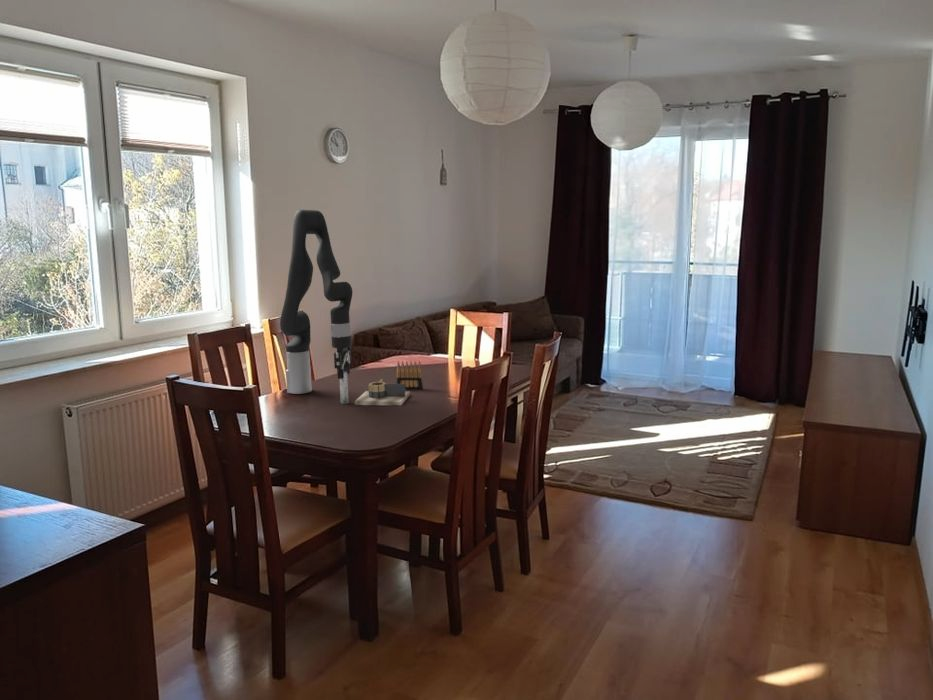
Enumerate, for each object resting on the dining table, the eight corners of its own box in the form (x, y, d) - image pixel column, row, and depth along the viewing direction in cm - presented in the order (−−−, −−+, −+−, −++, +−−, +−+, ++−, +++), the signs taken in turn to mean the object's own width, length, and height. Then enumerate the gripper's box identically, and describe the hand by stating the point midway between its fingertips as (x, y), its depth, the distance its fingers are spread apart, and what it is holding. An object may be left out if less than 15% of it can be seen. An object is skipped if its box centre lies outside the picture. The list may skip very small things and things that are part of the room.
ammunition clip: (396, 389, 303) (395, 361, 301) (397, 388, 305) (396, 360, 303) (422, 389, 302) (421, 361, 300) (423, 388, 304) (422, 360, 302)
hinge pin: (339, 403, 283) (338, 373, 280) (342, 401, 286) (340, 371, 283) (347, 403, 282) (345, 373, 280) (349, 401, 285) (347, 371, 283)
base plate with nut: (355, 404, 280) (354, 388, 279) (366, 394, 296) (365, 378, 295) (401, 405, 278) (400, 388, 277) (409, 395, 293) (409, 379, 292)
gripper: (337, 331, 286) (340, 372, 289) (325, 337, 273) (328, 380, 275) (355, 331, 285) (358, 372, 288) (345, 337, 272) (348, 380, 274)
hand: (344, 376), depth 282 cm, fingers open, 8 cm apart
